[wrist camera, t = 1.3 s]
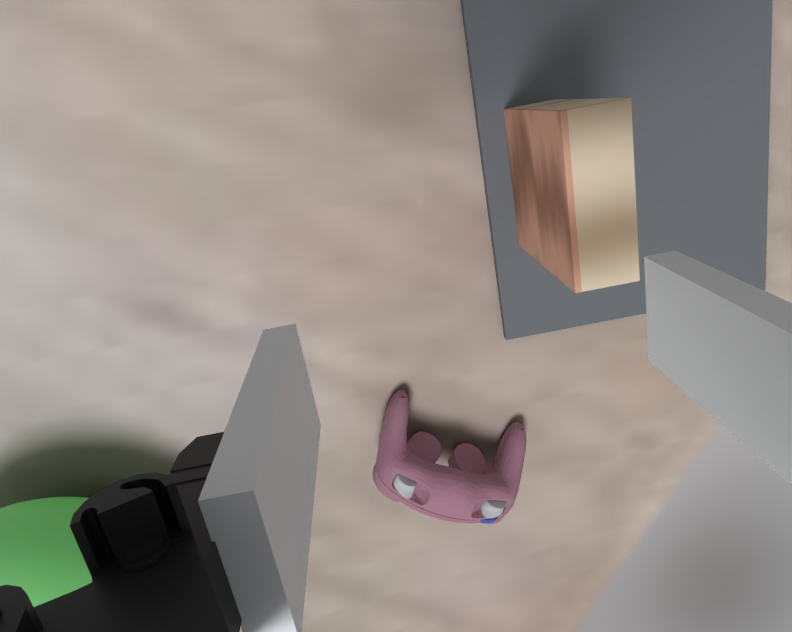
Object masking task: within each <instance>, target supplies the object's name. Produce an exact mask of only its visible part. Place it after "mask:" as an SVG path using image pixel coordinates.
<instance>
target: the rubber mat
mask: <svg viewBox="0 0 792 632" xmlns="http://www.w3.org/2000/svg"><path fill="white" fill-rule="evenodd" d="M461 7H462V15H463V22H464V30H465V38H466V46H467V53H468V61H469V69H470V77H471V84H472V92H473V100H474V108H475V115H476V123H477V131H478V138H479V146H480V154H481V162H482V169H483V177H484V185H485V193H486V200H487V208H488V216H489V223H490V231H491V239H492V247H493V254H494V262H495V270H496V278H497V285H498V293H499V301H500V308H501V316H502V324H503V332H504V337H505V339H506V340H509V339H514V338H519V337H525V336H530V335H535V334H540V333H545V332H550V331H555V330H561V329H566V328H571V327H576V326H581V325H586V324H592V323H597V322H602V321H607V320H612V319H617V318H622V317H628V316H633V315H638V314H643V313H646V292H645V269H644V257H645V256H650V255H655V254H660V253H665V252H671V251H678V252H680V253H682V254H684V255H686V256H689V257H691V258H693V259H695V260H697V261H700V262H702V263H704V264H706V265H708V266H711V267H713V268H715V269H717V270H719V271H722V272H724V273H726V274H728V275H730V276H733V277H735V278H737V279H739V280H742V281H744V282H746V283H748V284H750V285H753V286H755V287H757V288H759V289H761V290H765V280H766V240H767V199H768V158H769V118H770V77H771V37H772V0H461ZM596 98H631V105H632V126H633V147H634V168H635V189H636V210H637V232H638V253H639V274H640V281H636V282H631V283H626V284H621V285H615V286H610V287H605V288H600V289H595V290H590V291H584V292H579V293H575V292H573V291H572V290H571V289H570V288H569V287H567V286H566V285H565V284H564V283H563V282H562V281H560V280H559V279H558V278H557V277H556V276H554V275H553V274H552V273H551V272H550V271H549V270H547V269H546V268H545V267H544V266H543V265H541V264H540V263H539V262H538V261H537V260H536V259H534V258H533V257H532V256H531V255H530V254H528V253H527V252H526V251H525V250H524V249H522V248H521V247H520V246H519V242H518V233H517V224H516V215H515V207H514V198H513V189H512V180H511V172H510V163H509V154H508V146H507V137H506V128H505V119H504V111H503V109H507V108H513V107H518V106H523V105H528V104H534V103H539V102H544V101H549V100H554V99H596Z"/></svg>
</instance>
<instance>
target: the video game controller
mask: <svg viewBox="0 0 792 632" xmlns="http://www.w3.org/2000/svg"><path fill="white" fill-rule="evenodd" d="M408 417H409V400H408V396H407V394H406V392H405V391H404V390H399V391H398V392H396V393H395V394H394V395H393V396H392V398H391V400H390V402H389V404H388V407H387V409H386V412H385V416H384V419H383V424H382V429H381V433H380V438H379V446H378V454H377V462H376V464H375V466H374V469H373V480H374V483H375V485H376V487H377V488H378V489H379V491H380V492H381V493H382V494H383V495H385V496H386V497H388V498H389V499H391V500H394V501H398V502H402V503H403V504H405V505H406V506H408V507H410V508H412V509H414V510H416V511H418V512H420V513H423V514H426V515H428V516H431V517H434V518H438V519H441V520H446V521H451V522H459V523H483V524H494V523H497V522H499V521H500V520H501V519H502V518H503V517H504V516H505V515H506V514H507V513H508V512H509V510H510V509H511V508H512V506H513V504H514V501H515V499H516V496H517V493H518V489H519V484H520V479H521V474H522V468H523V462H524V456H525V450H526V433H525V430H524V427H523V425H522V424H521V423H519V422H514V423H512V424H511V425H510V426H509V427H508V429H507V430H506V431H505V433H504V435H503V437H502V439H501V441H500V444H499V447H498V449H497V452H496V455H495V458H494V462H493V465H492V466H491V467H490V466H489V465H488V464H487V462H486V460H485V458H484V456H483V454H482V452H481V451H480V449H478V448H477V447H476V446H474V445H472V444H468V443H463V444H460V445H458V446H457V447H456V448H455V450H454V451H453V452H452V454H451V455H450V457H449V459H448V463H449V467H447V466H443V465H439V464H435V462H436V461H437V460H438V458H439V457H440V454H441V445H440V442H439V441H438V439H436V438H435V437H434V436H433V435H431V434H429V433H427V432H417V433H415V434H414V435H413V436H412V437H411V438H410V440H409V441H408V442H407V425H408Z"/></svg>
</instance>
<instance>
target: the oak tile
mask: <svg viewBox="0 0 792 632" xmlns="http://www.w3.org/2000/svg"><path fill="white" fill-rule="evenodd" d="M503 111H504V119H505V128H506V137H507V146H508V154H509V163H510V172H511V180H512V189H513V198H514V207H515V215H516V224H517V233H518V242H519V246H520V247H521V248H522V249H524V250H525V251H526V252H527V253H528V254H530V255H531V256H532V257H533V258H534V259H536V260H537V261H538V262H539V263H540V264H541V265H543V266H544V267H545V268H546V269H547V270H549V271H550V272H551V273H552V274H553V275H554V276H556V277H557V278H558V279H559V280H560V281H562V282H563V283H564V284H565V285H566V286H567V287H569V288H570V289H571V290H572V291H573V292H575V293H579V292H584V291H590V290H595V289H600V288H605V287H610V286H615V285H621V284H626V283H631V282H636V281H640V274H639V253H638V232H637V210H636V189H635V168H634V147H633V126H632V105H631V98H596V99H554V100H549V101H544V102H539V103H534V104H528V105H523V106H518V107H513V108H507V109H503Z"/></svg>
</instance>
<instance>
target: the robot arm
mask: <svg viewBox="0 0 792 632" xmlns="http://www.w3.org/2000/svg"><path fill="white" fill-rule="evenodd" d="M644 269H645V292H646V315H647V338H648V361H649V362H650V363H651V364H652V365H653V366H655V367H656V368H657V369H658V370H659V371H660V372H662V373H663V374H664V375H665V376H666V377H667V378H668V379H670V380H671V381H672V382H673V383H674V384H675V385H677V386H678V387H679V388H680V389H681V390H682V391H683V392H685V393H686V394H687V395H688V396H689V397H690V398H692V399H693V400H694V401H695V402H696V403H697V404H698V405H700V406H701V407H702V408H703V409H704V410H705V411H707V412H708V413H709V414H710V415H711V416H712V417H713V418H715V419H716V420H717V421H718V422H719V423H720V424H722V425H723V426H724V427H725V428H726V429H727V430H728V431H730V432H731V433H732V434H733V435H734V436H736V437H737V438H738V439H739V440H740V441H741V442H742V443H744V444H745V445H746V446H747V447H748V448H749V449H750V450H752V451H753V452H754V453H755V454H756V455H757V456H759V457H760V458H761V459H762V460H763V461H764V462H765V463H767V464H768V465H769V466H770V467H771V468H772V469H774V470H775V471H776V472H777V473H778V474H779V475H780V476H782V477H783V478H784V479H785V480H786V481H787V482H789V483H790V484H791V485H792V303H790V302H788V301H786V300H783V299H781V298H779V297H777V296H775V295H772V294H770V293H768V292H766V291H764V290H761V289H759V288H757V287H755V286H753V285H750V284H748V283H746V282H744V281H742V280H739V279H737V278H735V277H733V276H730V275H728V274H726V273H724V272H722V271H719V270H717V269H715V268H713V267H711V266H708V265H706V264H704V263H702V262H700V261H697V260H695V259H693V258H691V257H689V256H686V255H684V254H682V253H680V252H678V251H671V252H665V253H660V254H655V255H650V256H645V257H644ZM320 427H321V424H320V420H319V416H318V412H317V408H316V404H315V400H314V396H313V392H312V388H311V384H310V380H309V376H308V372H307V368H306V364H305V360H304V356H303V352H302V348H301V344H300V340H299V336H298V332H297V328H296V324H292V325H286V326H281V327H276V328H271V329H266V330H263V333H262V335H261V338H260V341H259V343H258V346H257V348H256V351H255V354H254V356H253V359H252V361H251V364H250V367H249V369H248V372H247V374H246V377H245V380H244V382H243V385H242V387H241V390H240V393H239V395H238V398H237V400H236V403H235V406H234V408H233V411H232V413H231V416H230V419H229V421H228V424H227V426H226V429H225V432H221V433H216V434H211V435H206V436H200V437H197V438H195V439H194V440H193V441H192V442H191V443H190V444H189V445H188V446H187V447H186V448H185V449H184V450H183V451H182V452H180V453H179V455H178V457H177V459H176V461H175V463H174V465H173V467H172V469H171V474H169V475H164V474H158V473H150V474H141V475H136V476H133V477H130V478H126V479H123V480H120V481H118V482H116V483H114V484H112V485H110V486H107V487H105V488H103V489H101V490H100V491H98V492H97V493H96V494H94V495H93V496H91V497H90V498H89V499H87V500H86V501H84V503H83V504H82V505H81V506H80V507H79V508H78V509H77V510H76V512H75V513H74V514H73V517H72V520H71V523H70V528H71V530H72V533H73V535H74V537H75V540H76V542H77V544H78V546H79V549H80V551H81V553H82V556H83V558H84V560H85V563H86V565H87V567H88V569H89V572H90V574H91V576H92V583H90V584H88V585H85V586H83V587H81V588H79V589H77V590H75V591H72V592H70V593H67V594H65V595H63V596H60V597H58V598H55V599H53V600H50V601H48V602H45V603H43V604H40V605H38V606H36V607H33V605H32V603H31V601H30V599H29V597H28V595H27V593H26V592H25V591H24V590H23V589H22V588H21V587H19V586H12V585H3V586H0V632H239V631H240V626H241V628H242V631H243V632H301V630H302V619H303V609H304V598H305V587H306V577H307V566H308V555H309V545H310V534H311V523H312V512H313V502H314V491H315V480H316V470H317V459H318V448H319V437H320Z"/></svg>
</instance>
